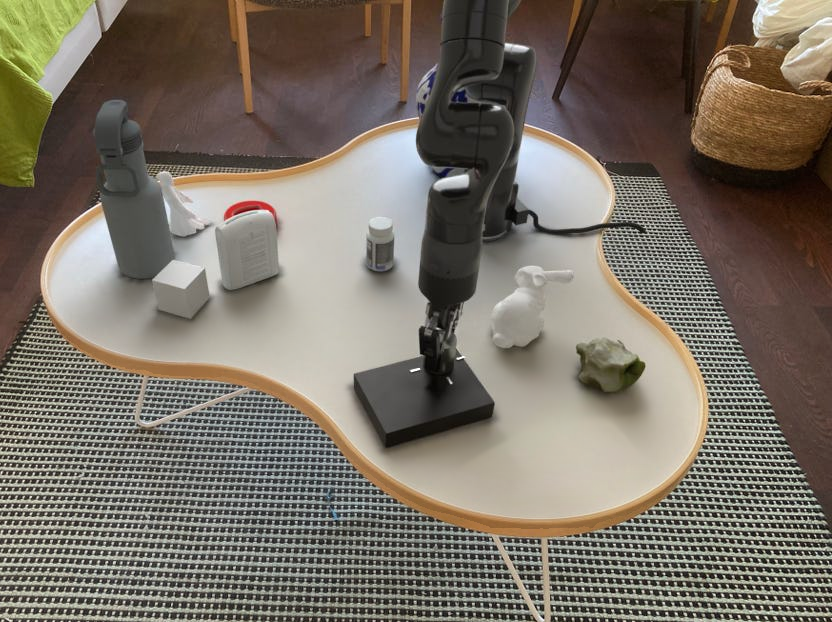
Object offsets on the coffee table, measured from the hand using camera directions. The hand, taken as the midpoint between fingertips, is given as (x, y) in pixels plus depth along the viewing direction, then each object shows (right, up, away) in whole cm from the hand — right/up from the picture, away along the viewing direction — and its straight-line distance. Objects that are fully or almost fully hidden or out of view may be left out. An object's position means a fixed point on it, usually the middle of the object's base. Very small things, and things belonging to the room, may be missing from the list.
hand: (438, 357), depth 104 cm
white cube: (-40, +9, +16) cm, 44 cm away
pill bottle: (-7, +16, +24) cm, 30 cm away
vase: (+10, +40, +49) cm, 64 cm away
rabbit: (+14, +4, +11) cm, 18 cm away
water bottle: (-48, +16, +24) cm, 56 cm away
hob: (-2, -6, -1) cm, 7 cm away
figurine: (-43, +24, +32) cm, 59 cm away
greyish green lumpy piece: (+25, -3, +3) cm, 25 cm away
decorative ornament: (-31, +24, +32) cm, 51 cm away
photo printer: (-29, +13, +21) cm, 39 cm away
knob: (0, -1, +1) cm, 1 cm away
